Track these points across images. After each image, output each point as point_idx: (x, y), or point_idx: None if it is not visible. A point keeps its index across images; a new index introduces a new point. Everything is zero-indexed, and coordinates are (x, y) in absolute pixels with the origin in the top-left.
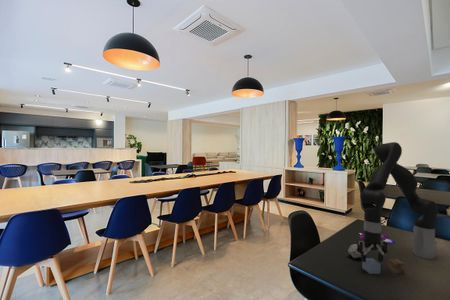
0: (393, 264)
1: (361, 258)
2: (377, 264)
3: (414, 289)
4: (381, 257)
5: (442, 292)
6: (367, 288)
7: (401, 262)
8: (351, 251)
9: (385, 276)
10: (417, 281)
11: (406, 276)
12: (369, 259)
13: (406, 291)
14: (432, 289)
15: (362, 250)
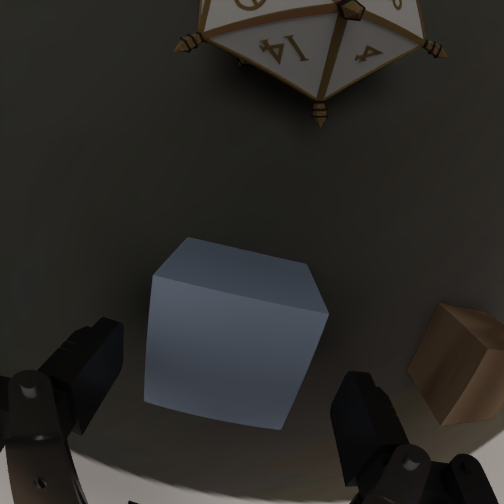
0: (442, 395)
1: (72, 343)
2: (241, 420)
3: (311, 483)
4: (342, 458)
5: None
6: None
7: (497, 405)
8: (201, 4)
9: None
10: (417, 440)
11: None
12: (240, 329)
13: (248, 486)
14: None
15: (24, 422)
